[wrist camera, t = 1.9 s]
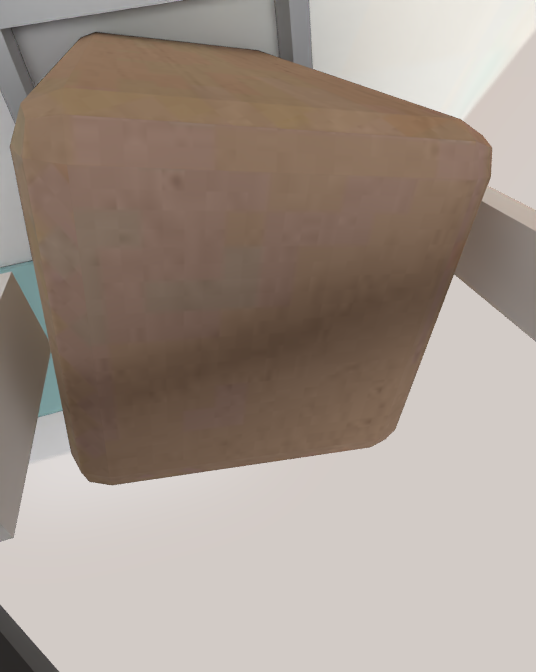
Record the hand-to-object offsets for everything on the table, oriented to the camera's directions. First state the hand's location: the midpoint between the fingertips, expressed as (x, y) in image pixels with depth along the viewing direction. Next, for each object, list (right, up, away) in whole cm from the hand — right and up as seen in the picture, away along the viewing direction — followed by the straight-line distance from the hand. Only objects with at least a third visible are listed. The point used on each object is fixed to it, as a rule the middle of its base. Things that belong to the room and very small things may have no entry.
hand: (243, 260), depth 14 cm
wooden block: (-4, +9, +12) cm, 16 cm away
